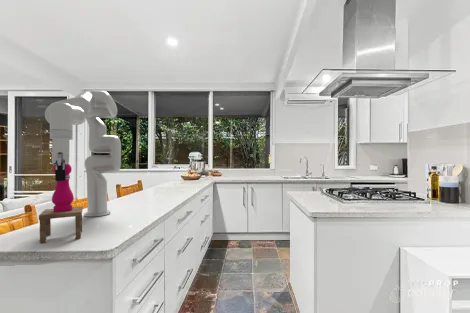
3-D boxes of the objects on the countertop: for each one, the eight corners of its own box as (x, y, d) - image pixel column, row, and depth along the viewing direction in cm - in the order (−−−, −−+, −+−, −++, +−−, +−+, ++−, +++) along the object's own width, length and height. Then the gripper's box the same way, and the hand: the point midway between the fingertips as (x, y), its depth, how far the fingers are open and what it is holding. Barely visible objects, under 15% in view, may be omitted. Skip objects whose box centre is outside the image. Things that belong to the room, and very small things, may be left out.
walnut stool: (45, 234, 111) (45, 209, 111) (82, 230, 116) (82, 206, 117) (39, 243, 99) (38, 215, 99) (81, 238, 105) (80, 211, 105)
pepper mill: (64, 212, 104) (63, 158, 104) (47, 212, 105) (46, 158, 105) (78, 208, 111) (77, 158, 111) (62, 208, 112) (61, 158, 113)
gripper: (53, 136, 114) (53, 179, 114) (46, 133, 98) (46, 182, 98) (74, 137, 117) (74, 178, 117) (70, 133, 102) (71, 181, 102)
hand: (62, 179), depth 108 cm, fingers open, 9 cm apart
